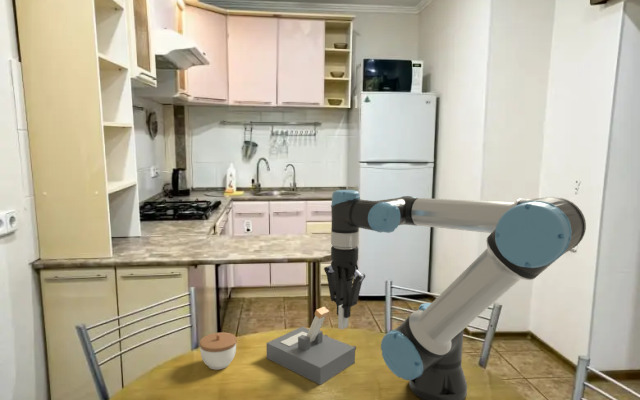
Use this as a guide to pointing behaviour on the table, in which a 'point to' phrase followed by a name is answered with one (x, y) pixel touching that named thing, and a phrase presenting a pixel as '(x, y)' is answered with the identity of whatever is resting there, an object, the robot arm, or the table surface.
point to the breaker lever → (317, 323)
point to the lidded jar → (218, 350)
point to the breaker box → (311, 354)
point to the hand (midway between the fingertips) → (343, 327)
